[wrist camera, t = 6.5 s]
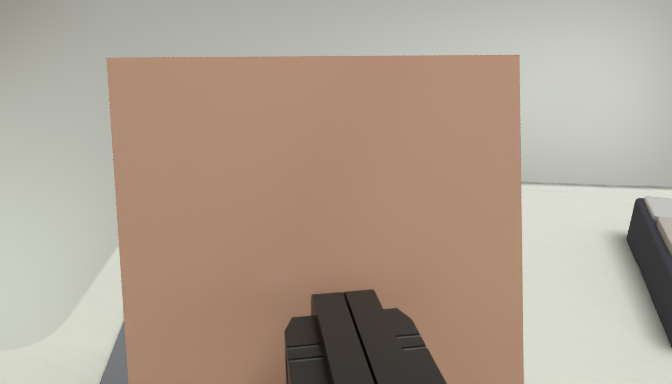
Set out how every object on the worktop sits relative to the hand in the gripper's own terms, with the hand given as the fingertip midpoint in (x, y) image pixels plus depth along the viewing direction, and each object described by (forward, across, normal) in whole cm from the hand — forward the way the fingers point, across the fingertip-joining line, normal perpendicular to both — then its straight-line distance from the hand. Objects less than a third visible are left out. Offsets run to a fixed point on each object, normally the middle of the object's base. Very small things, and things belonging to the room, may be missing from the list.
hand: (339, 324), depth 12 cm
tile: (-1, 0, +9) cm, 9 cm away
